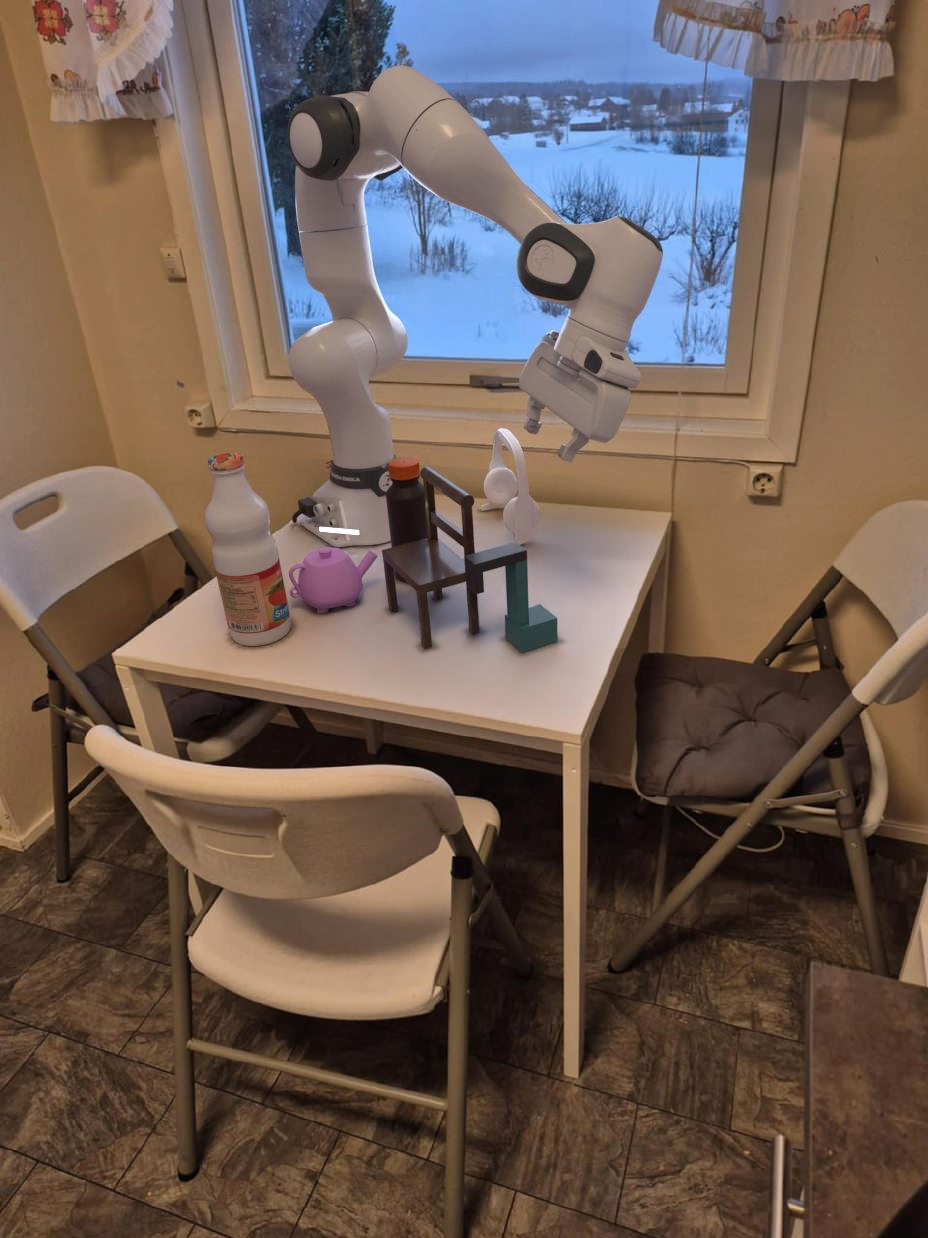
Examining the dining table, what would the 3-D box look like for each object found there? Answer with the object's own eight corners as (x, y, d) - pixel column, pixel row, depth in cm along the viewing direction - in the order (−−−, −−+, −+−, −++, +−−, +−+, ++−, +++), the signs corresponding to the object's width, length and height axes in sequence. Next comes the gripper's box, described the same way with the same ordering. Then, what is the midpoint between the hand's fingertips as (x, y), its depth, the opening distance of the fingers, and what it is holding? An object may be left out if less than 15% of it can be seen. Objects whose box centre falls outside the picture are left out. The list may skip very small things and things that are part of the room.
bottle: (417, 561, 150) (406, 452, 140) (442, 573, 146) (433, 460, 136) (386, 575, 146) (373, 463, 136) (412, 587, 142) (400, 472, 132)
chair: (442, 594, 139) (431, 465, 128) (482, 631, 128) (474, 493, 117) (388, 609, 136) (373, 478, 125) (425, 649, 124) (411, 508, 114)
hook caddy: (540, 627, 128) (538, 532, 120) (557, 641, 124) (556, 544, 116) (468, 650, 124) (461, 553, 116) (483, 666, 120) (477, 566, 112)
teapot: (285, 597, 141) (276, 545, 137) (372, 576, 146) (366, 526, 141) (300, 624, 133) (290, 571, 128) (391, 602, 138) (385, 549, 133)
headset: (543, 544, 153) (542, 448, 144) (505, 550, 152) (501, 453, 143) (514, 504, 170) (512, 416, 161) (480, 509, 169) (475, 420, 160)
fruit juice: (227, 624, 135) (187, 453, 121) (286, 611, 137) (254, 442, 123) (234, 653, 127) (192, 474, 113) (297, 639, 129) (264, 461, 115)
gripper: (531, 320, 120) (494, 412, 125) (614, 370, 105) (567, 471, 111) (565, 332, 123) (527, 421, 129) (649, 382, 109) (602, 479, 115)
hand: (546, 445), depth 120 cm, fingers open, 8 cm apart
